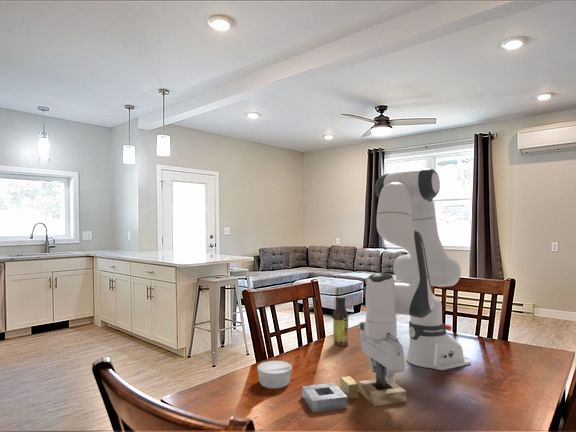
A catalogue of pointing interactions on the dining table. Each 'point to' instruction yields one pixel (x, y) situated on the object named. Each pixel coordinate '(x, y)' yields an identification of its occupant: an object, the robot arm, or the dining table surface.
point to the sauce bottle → (340, 322)
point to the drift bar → (349, 387)
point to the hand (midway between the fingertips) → (381, 376)
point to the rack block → (382, 393)
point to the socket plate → (324, 397)
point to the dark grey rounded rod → (380, 377)
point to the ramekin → (274, 374)
